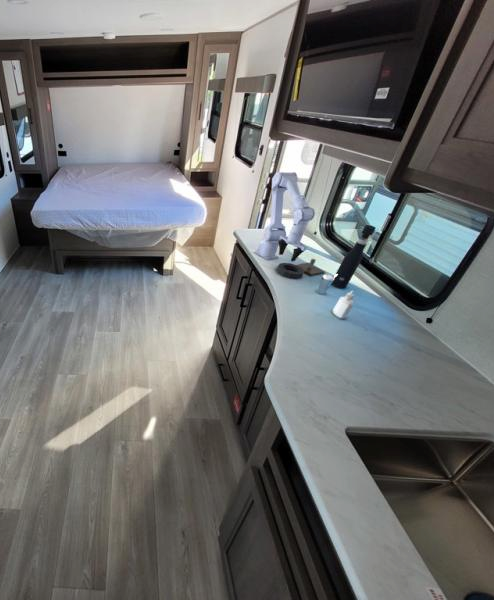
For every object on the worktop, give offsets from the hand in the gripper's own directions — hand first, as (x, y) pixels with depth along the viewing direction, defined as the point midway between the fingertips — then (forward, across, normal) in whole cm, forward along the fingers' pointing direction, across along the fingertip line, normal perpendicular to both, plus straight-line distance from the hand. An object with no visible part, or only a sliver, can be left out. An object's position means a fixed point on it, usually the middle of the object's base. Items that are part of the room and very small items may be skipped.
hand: (286, 257), depth 157 cm
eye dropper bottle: (+7, +39, -9) cm, 40 cm away
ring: (+7, +5, 0) cm, 8 cm away
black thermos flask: (+7, +22, +14) cm, 27 cm away
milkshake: (+7, +24, 0) cm, 25 cm away
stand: (+7, +6, +13) cm, 16 cm away
